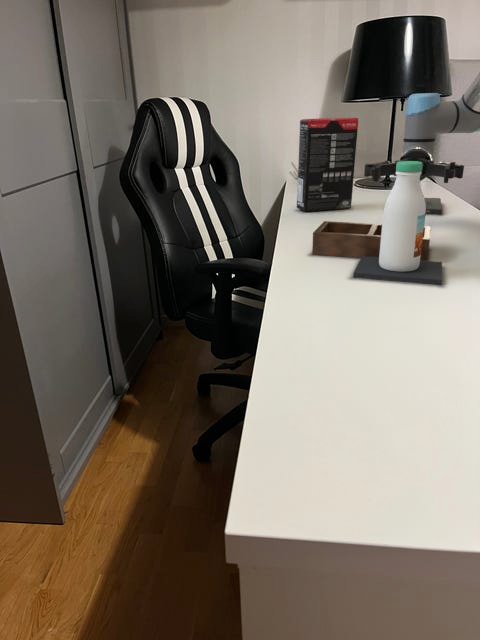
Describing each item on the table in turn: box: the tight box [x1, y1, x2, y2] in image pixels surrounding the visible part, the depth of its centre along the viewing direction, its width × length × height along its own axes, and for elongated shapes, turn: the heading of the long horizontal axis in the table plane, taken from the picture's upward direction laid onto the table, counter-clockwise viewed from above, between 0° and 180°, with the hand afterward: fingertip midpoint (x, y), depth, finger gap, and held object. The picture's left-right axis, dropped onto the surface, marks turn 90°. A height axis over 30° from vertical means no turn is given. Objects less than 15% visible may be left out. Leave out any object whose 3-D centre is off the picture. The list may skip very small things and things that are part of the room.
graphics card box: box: [296, 117, 359, 212], centre depth 155 cm, size 17×7×27 cm, turn 109°
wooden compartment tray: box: [311, 220, 432, 261], centre depth 113 cm, size 24×12×5 cm, turn 70°
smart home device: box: [424, 197, 443, 215], centre depth 158 cm, size 8×2×20 cm
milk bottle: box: [379, 161, 426, 272], centre depth 95 cm, size 8×8×20 cm
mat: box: [352, 256, 443, 286], centre depth 99 cm, size 16×12×1 cm
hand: (410, 175), depth 101 cm, fingers open, 13 cm apart
